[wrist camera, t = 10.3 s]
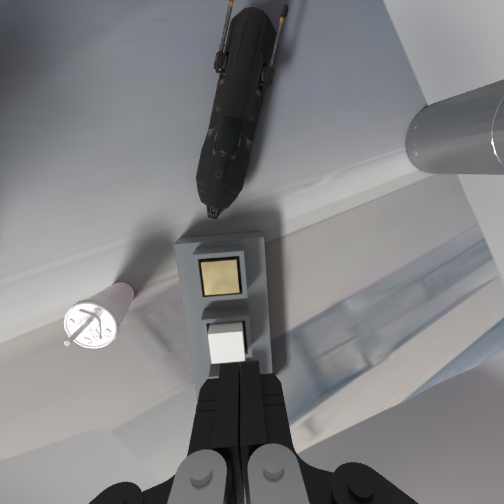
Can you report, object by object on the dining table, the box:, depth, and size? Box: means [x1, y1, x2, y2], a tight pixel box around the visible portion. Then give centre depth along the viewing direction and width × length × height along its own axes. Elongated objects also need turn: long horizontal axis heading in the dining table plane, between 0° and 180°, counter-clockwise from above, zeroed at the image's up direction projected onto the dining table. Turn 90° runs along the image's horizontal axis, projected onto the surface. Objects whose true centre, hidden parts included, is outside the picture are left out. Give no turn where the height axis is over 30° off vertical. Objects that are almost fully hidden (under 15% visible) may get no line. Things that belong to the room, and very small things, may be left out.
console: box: [174, 231, 272, 399], centre depth 42 cm, size 12×26×7 cm, turn 4°
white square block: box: [208, 321, 245, 364], centre depth 39 cm, size 4×4×3 cm
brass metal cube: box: [201, 256, 239, 295], centre depth 38 cm, size 4×4×3 cm
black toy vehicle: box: [196, 0, 288, 219], centre depth 35 cm, size 7×25×8 cm, turn 166°
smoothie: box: [64, 282, 134, 348], centre depth 37 cm, size 6×6×14 cm
